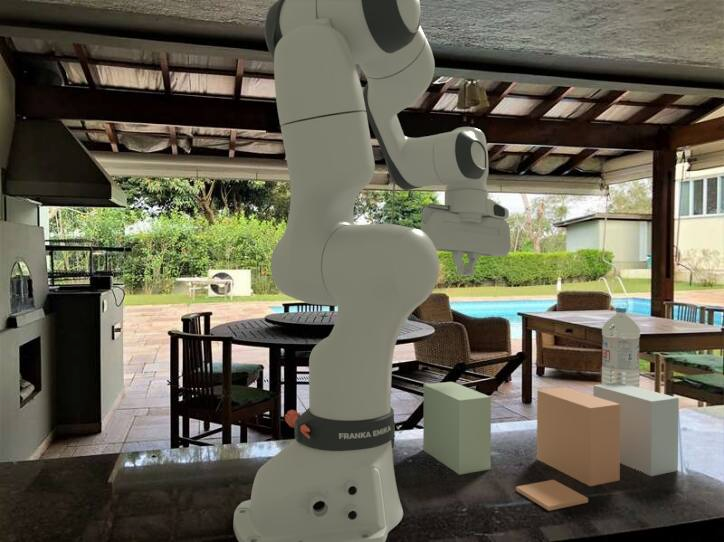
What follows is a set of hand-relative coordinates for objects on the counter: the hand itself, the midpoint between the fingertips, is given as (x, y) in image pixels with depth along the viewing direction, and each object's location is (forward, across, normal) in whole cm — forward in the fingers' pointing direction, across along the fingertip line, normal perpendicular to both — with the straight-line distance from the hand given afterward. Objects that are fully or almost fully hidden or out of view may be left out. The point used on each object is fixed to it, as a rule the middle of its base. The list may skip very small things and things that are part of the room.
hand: (465, 275), depth 109 cm
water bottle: (+30, +30, -11) cm, 44 cm away
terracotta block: (+33, +7, -22) cm, 40 cm away
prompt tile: (+35, -4, -28) cm, 45 cm away
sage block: (+34, -8, -10) cm, 36 cm away
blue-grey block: (+32, +19, -23) cm, 44 cm away
